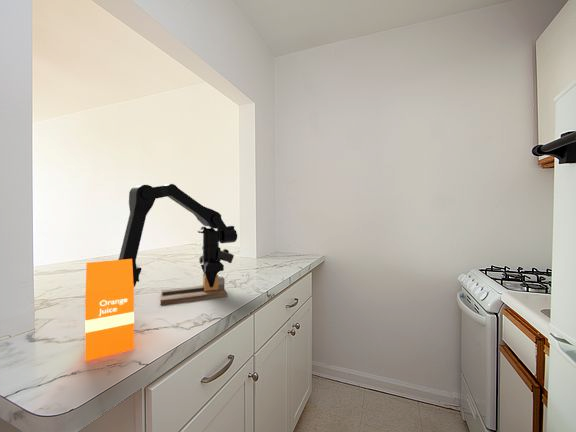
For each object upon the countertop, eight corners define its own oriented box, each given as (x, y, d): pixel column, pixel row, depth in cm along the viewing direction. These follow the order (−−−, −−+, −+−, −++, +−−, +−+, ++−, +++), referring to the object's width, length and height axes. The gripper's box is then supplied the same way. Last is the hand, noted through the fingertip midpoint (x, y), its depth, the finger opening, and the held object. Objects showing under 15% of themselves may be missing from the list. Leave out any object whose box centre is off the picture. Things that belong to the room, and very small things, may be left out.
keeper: (218, 289, 98) (218, 275, 98) (204, 291, 96) (204, 277, 96) (216, 286, 102) (216, 273, 102) (202, 287, 100) (202, 274, 100)
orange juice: (87, 345, 60) (86, 259, 60) (131, 335, 66) (131, 256, 65) (85, 361, 54) (84, 265, 54) (134, 349, 59) (134, 261, 59)
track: (226, 296, 96) (227, 281, 96) (160, 304, 87) (160, 288, 87) (220, 287, 107) (220, 274, 107) (160, 294, 97) (160, 279, 97)
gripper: (238, 246, 94) (237, 289, 94) (226, 241, 111) (226, 277, 111) (206, 248, 89) (205, 293, 90) (199, 242, 106) (199, 280, 106)
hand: (210, 285), depth 99 cm, fingers closed on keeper, 4 cm apart
